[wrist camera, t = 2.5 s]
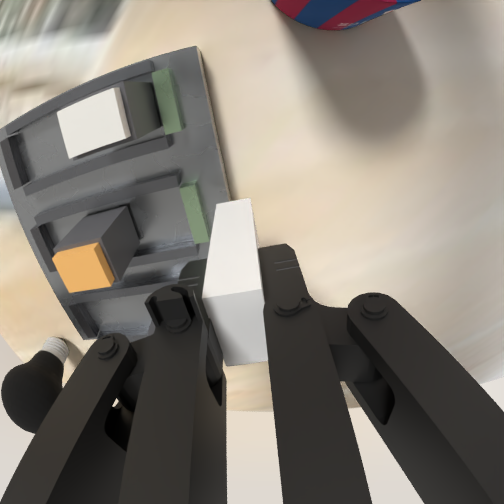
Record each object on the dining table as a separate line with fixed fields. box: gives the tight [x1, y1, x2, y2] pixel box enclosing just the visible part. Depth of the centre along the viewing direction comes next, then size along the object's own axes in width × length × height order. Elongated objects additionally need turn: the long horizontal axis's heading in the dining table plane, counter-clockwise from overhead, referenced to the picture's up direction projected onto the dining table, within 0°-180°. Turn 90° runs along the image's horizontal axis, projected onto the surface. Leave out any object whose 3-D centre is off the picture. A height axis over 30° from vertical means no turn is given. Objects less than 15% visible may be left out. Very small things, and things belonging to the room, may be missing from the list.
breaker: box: [57, 81, 161, 161], centre depth 11 cm, size 2×3×4 cm
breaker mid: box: [52, 205, 140, 293], centre depth 14 cm, size 2×3×4 cm
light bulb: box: [1, 337, 69, 434], centre depth 19 cm, size 6×6×10 cm
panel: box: [0, 46, 231, 342], centre depth 17 cm, size 17×14×2 cm
